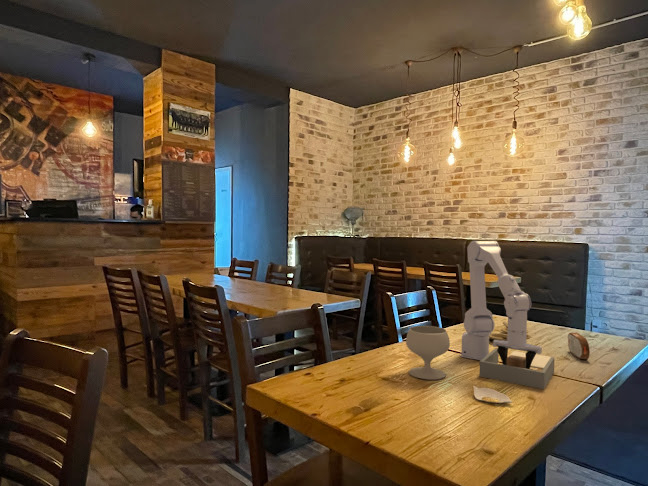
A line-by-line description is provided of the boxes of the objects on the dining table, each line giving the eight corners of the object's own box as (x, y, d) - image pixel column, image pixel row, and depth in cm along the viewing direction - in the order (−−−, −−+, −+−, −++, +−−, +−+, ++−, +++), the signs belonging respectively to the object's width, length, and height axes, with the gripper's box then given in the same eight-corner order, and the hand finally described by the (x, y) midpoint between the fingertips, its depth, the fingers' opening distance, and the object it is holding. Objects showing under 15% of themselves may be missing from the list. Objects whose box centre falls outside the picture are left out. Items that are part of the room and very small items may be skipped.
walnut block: (506, 376, 139) (506, 358, 139) (509, 372, 143) (510, 354, 143) (522, 379, 136) (523, 361, 136) (525, 375, 140) (526, 357, 140)
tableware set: (518, 351, 171) (519, 337, 171) (471, 342, 185) (471, 329, 184) (541, 338, 193) (541, 325, 193) (497, 331, 206) (497, 319, 206)
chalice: (402, 378, 137) (403, 332, 136) (409, 365, 150) (409, 323, 149) (447, 384, 132) (448, 336, 131) (450, 370, 145) (451, 326, 144)
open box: (479, 376, 139) (479, 361, 139) (495, 361, 155) (495, 348, 155) (544, 389, 128) (544, 372, 128) (554, 371, 144) (554, 357, 144)
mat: (503, 361, 155) (503, 360, 155) (513, 352, 168) (513, 351, 168) (546, 369, 147) (546, 368, 147) (553, 358, 160) (553, 357, 160)
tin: (590, 362, 155) (590, 339, 155) (580, 361, 156) (581, 339, 156) (574, 351, 170) (575, 330, 170) (566, 350, 171) (566, 329, 170)
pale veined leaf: (478, 389, 127) (479, 381, 127) (519, 404, 118) (519, 395, 118) (464, 397, 122) (465, 389, 121) (506, 414, 113) (506, 405, 113)
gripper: (490, 329, 141) (490, 370, 141) (539, 336, 132) (538, 379, 132) (496, 325, 146) (495, 365, 147) (543, 331, 138) (542, 373, 138)
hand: (516, 371), depth 140 cm, fingers open, 6 cm apart
